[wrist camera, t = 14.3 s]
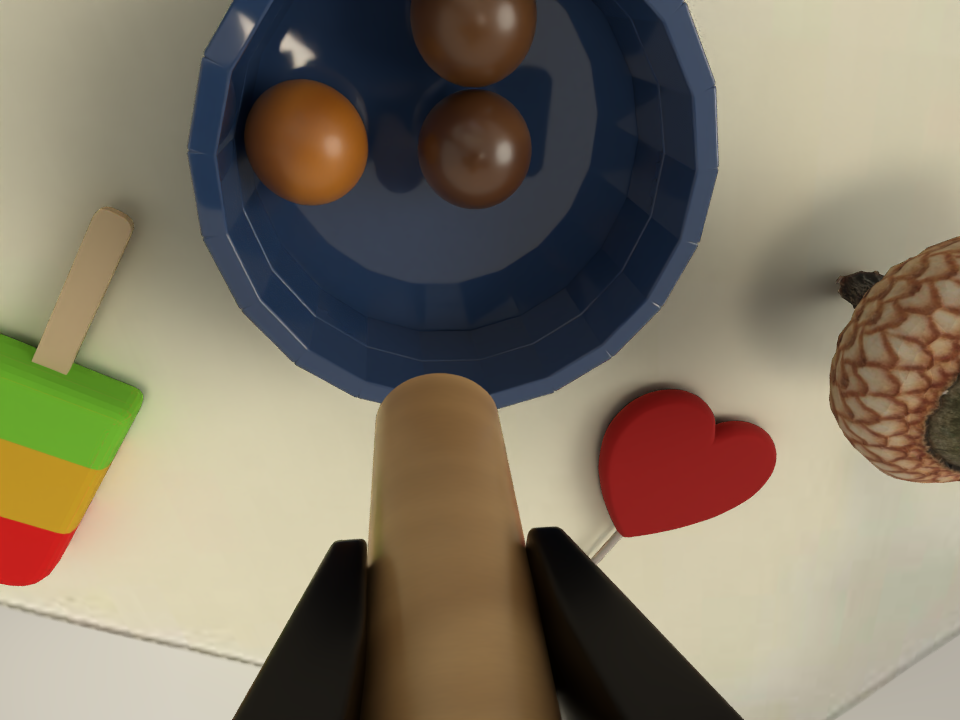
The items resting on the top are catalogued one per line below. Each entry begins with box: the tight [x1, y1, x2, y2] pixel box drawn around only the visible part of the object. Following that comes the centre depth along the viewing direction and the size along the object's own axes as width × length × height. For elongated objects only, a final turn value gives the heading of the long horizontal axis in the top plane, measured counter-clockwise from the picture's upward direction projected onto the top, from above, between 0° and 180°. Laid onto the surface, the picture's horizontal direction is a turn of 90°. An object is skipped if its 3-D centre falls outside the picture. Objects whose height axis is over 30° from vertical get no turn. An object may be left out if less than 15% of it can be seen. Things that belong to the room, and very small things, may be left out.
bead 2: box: [410, 0, 537, 87], centre depth 15 cm, size 3×3×3 cm
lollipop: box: [591, 389, 776, 565], centre depth 27 cm, size 8×1×15 cm
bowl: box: [187, 0, 719, 409], centre depth 16 cm, size 12×12×4 cm
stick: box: [360, 373, 562, 720], centre depth 7 cm, size 2×2×9 cm
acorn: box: [829, 236, 960, 483], centre depth 18 cm, size 8×8×10 cm
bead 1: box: [244, 79, 368, 205], centre depth 15 cm, size 3×3×3 cm
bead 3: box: [418, 89, 532, 209], centre depth 16 cm, size 3×3×3 cm
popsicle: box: [0, 207, 143, 586], centre depth 19 cm, size 6×15×2 cm, turn 145°
